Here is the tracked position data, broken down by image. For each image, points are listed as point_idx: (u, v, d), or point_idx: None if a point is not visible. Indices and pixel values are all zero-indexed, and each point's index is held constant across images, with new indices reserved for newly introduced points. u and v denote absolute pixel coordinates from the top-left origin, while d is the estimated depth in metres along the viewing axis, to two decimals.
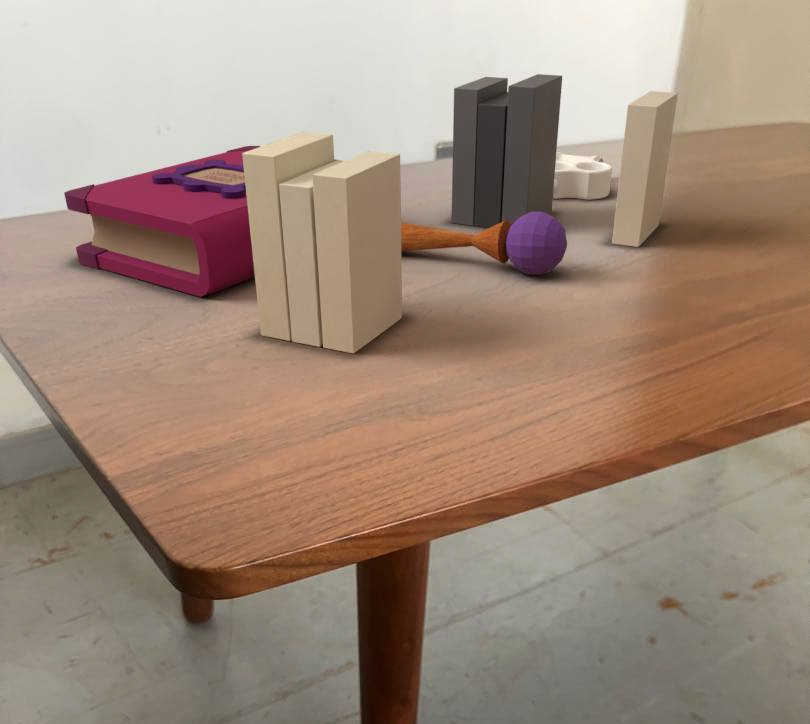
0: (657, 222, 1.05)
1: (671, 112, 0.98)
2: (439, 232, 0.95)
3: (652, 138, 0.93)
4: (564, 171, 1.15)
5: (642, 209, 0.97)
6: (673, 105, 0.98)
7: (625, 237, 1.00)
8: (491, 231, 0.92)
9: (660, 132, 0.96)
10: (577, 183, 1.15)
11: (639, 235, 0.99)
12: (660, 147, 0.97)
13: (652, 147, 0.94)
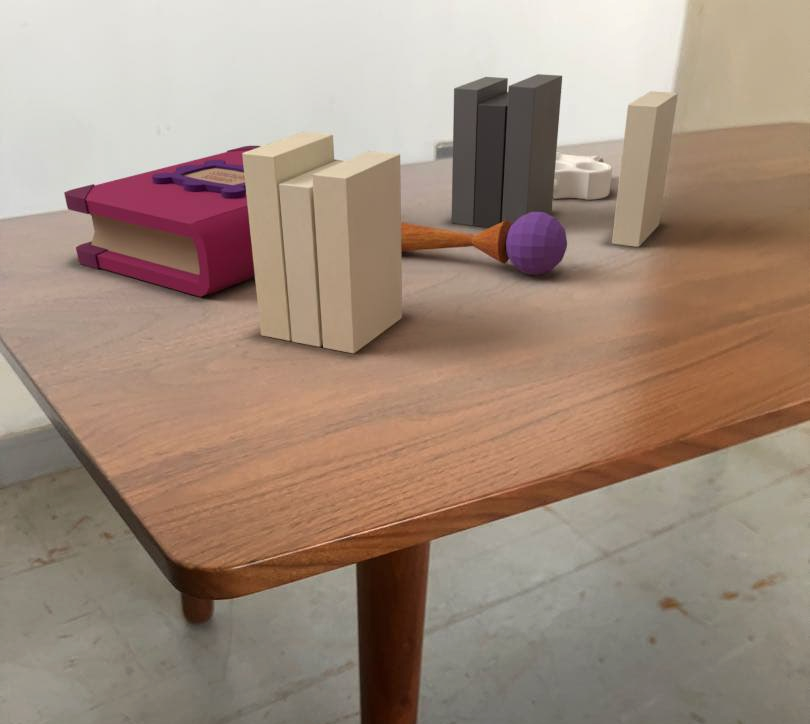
0: (657, 222, 1.05)
1: (671, 112, 0.98)
2: (439, 232, 0.95)
3: (652, 138, 0.93)
4: (564, 171, 1.15)
5: (642, 209, 0.97)
6: (673, 105, 0.98)
7: (625, 237, 1.00)
8: (492, 231, 0.92)
9: (660, 132, 0.96)
10: (577, 183, 1.15)
11: (639, 235, 0.99)
12: (660, 147, 0.97)
13: (652, 147, 0.94)
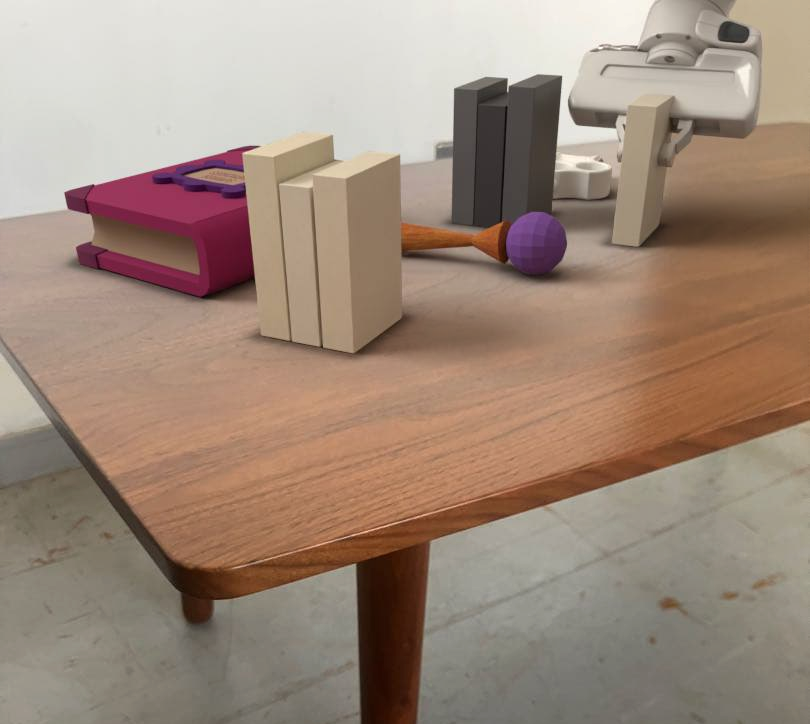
0: (657, 222, 1.05)
1: None
2: (439, 232, 0.95)
3: (652, 138, 0.93)
4: (564, 171, 1.15)
5: (642, 209, 0.97)
6: None
7: (625, 237, 1.00)
8: (491, 231, 0.92)
9: (660, 132, 0.96)
10: (577, 183, 1.15)
11: (639, 235, 0.99)
12: (660, 147, 0.97)
13: (652, 147, 0.94)
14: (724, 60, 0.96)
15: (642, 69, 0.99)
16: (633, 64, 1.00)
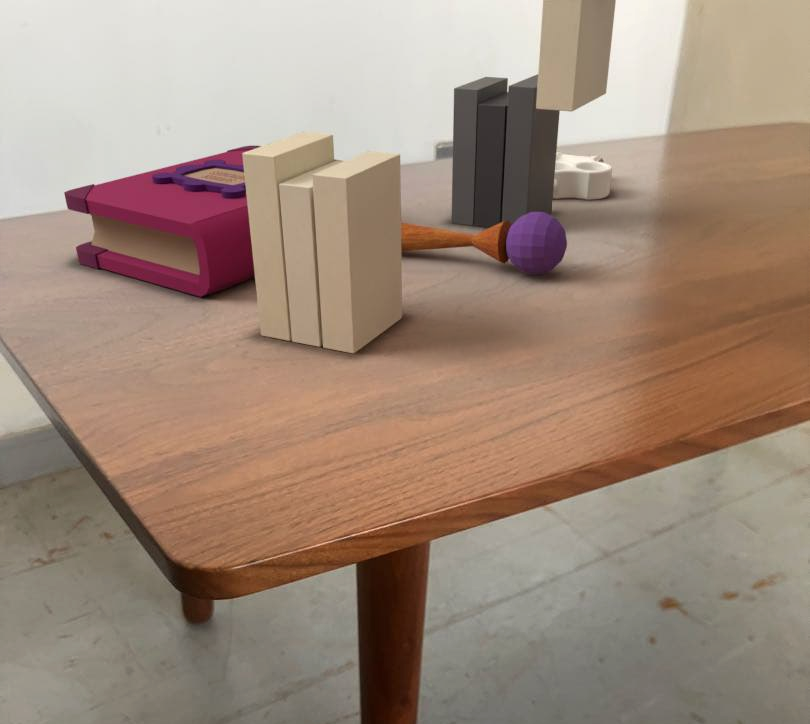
0: (603, 87, 0.76)
1: None
2: (439, 232, 0.95)
3: None
4: (564, 171, 1.15)
5: (575, 53, 0.69)
6: None
7: (553, 97, 0.71)
8: (491, 231, 0.92)
9: None
10: (577, 183, 1.15)
11: (573, 93, 0.70)
12: None
13: None
14: None
15: None
16: None
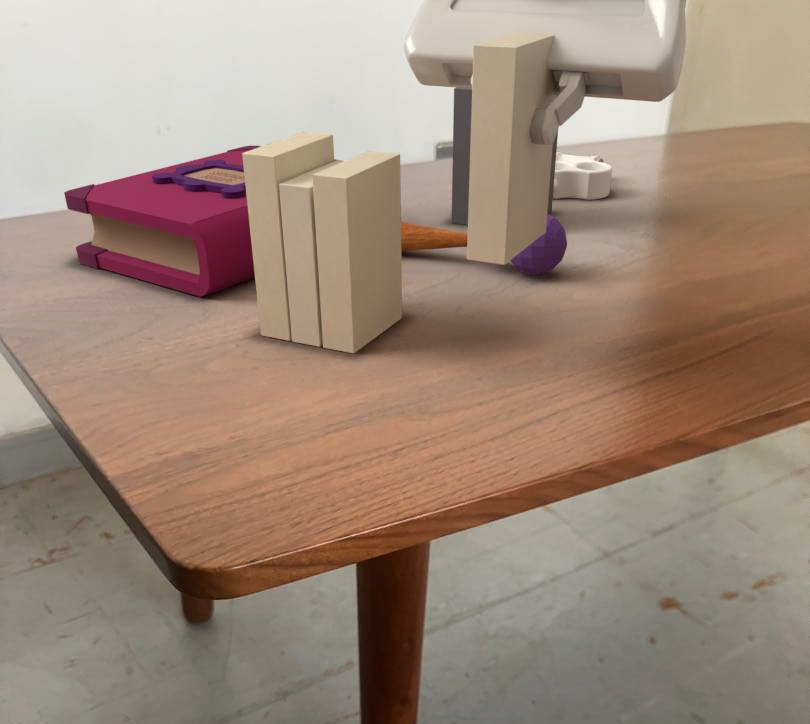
0: (542, 227, 0.72)
1: None
2: (439, 232, 0.95)
3: (512, 98, 0.60)
4: (564, 171, 1.15)
5: (506, 208, 0.64)
6: None
7: (484, 250, 0.67)
8: None
9: (529, 90, 0.62)
10: (577, 183, 1.15)
11: (504, 247, 0.66)
12: (533, 114, 0.64)
13: (514, 112, 0.61)
14: None
15: None
16: None
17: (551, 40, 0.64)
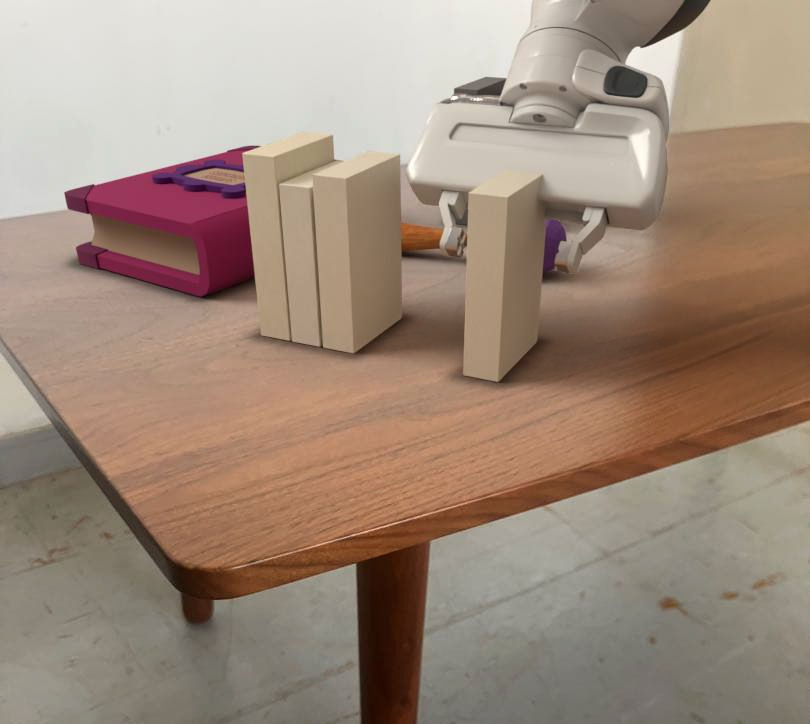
0: (534, 338, 0.77)
1: None
2: (439, 232, 0.95)
3: (505, 240, 0.65)
4: None
5: (499, 333, 0.69)
6: None
7: (479, 368, 0.72)
8: None
9: (520, 228, 0.68)
10: None
11: (498, 367, 0.71)
12: (524, 246, 0.69)
13: (506, 251, 0.66)
14: (613, 121, 0.67)
15: (505, 131, 0.71)
16: (492, 123, 0.71)
17: (540, 179, 0.69)
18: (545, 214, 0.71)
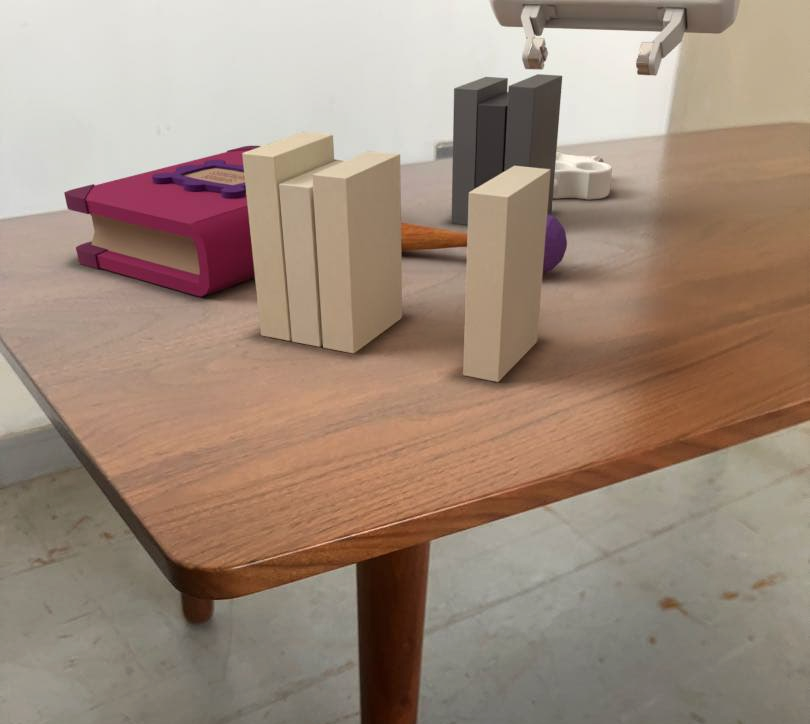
0: (534, 339, 0.77)
1: (540, 197, 0.70)
2: (439, 232, 0.95)
3: (505, 239, 0.65)
4: (564, 171, 1.15)
5: (499, 333, 0.69)
6: (543, 187, 0.70)
7: (479, 368, 0.72)
8: None
9: (521, 228, 0.68)
10: (577, 183, 1.15)
11: (498, 367, 0.71)
12: (524, 246, 0.69)
13: (506, 251, 0.66)
14: None
15: None
16: None
17: (541, 179, 0.69)
18: (623, 25, 0.75)
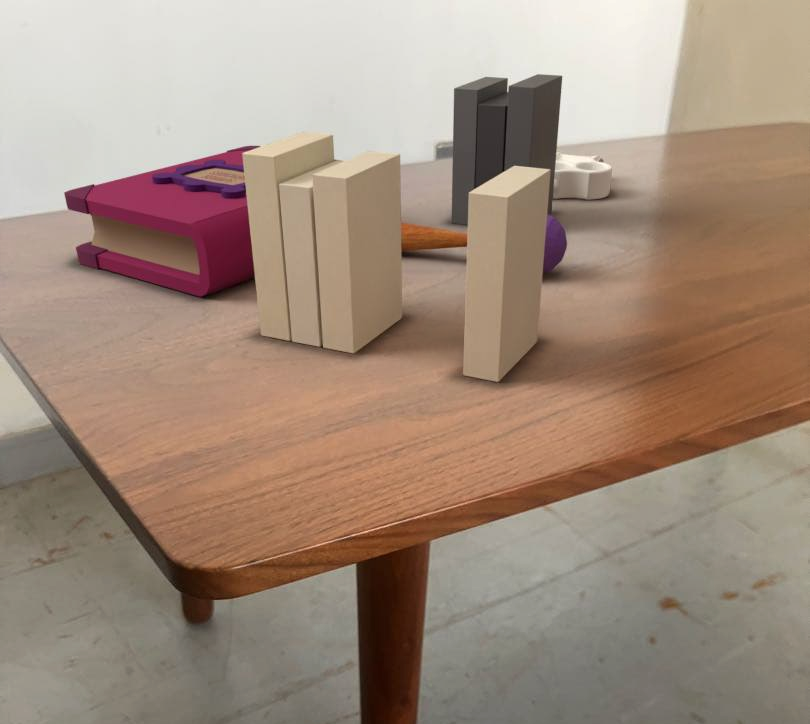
0: (534, 339, 0.77)
1: (540, 197, 0.70)
2: (439, 232, 0.95)
3: (505, 240, 0.65)
4: (564, 171, 1.15)
5: (499, 333, 0.69)
6: (543, 187, 0.70)
7: (479, 368, 0.72)
8: None
9: (521, 228, 0.68)
10: (577, 183, 1.15)
11: (498, 367, 0.71)
12: (524, 247, 0.69)
13: (506, 251, 0.66)
14: None
15: None
16: None
17: (541, 179, 0.69)
18: None
